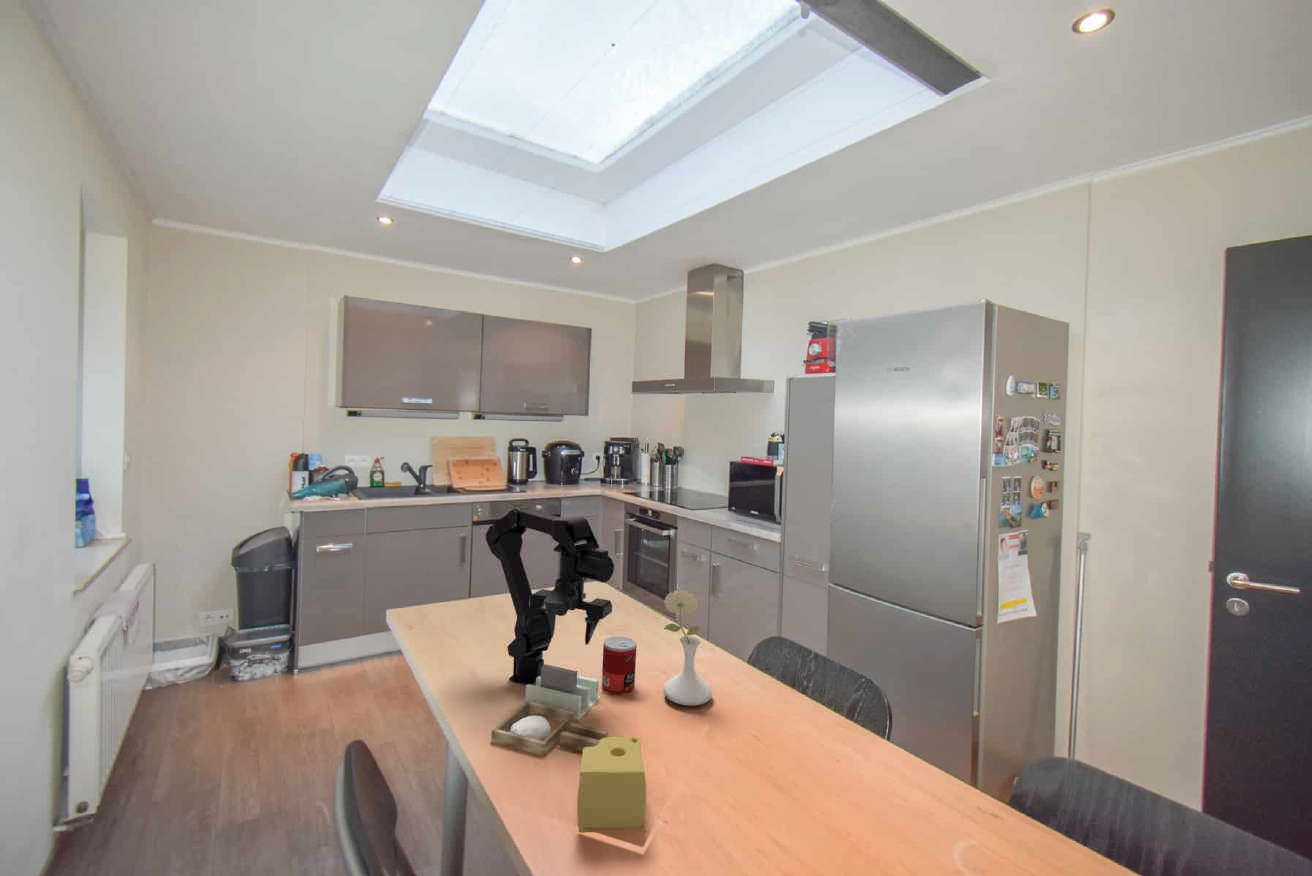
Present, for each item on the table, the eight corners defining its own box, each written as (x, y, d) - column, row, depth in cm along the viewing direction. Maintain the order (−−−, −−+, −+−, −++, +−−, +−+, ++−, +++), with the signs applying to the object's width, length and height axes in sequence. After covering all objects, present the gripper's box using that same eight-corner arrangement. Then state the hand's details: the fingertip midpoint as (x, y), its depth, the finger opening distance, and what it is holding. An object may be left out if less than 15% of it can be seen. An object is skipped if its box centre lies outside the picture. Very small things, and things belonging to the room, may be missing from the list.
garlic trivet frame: (491, 745, 110) (491, 730, 110) (526, 714, 122) (527, 700, 122) (543, 760, 107) (544, 744, 106) (575, 726, 118) (575, 712, 118)
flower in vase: (718, 694, 136) (724, 590, 135) (701, 715, 125) (707, 603, 124) (668, 681, 141) (673, 581, 140) (648, 701, 131) (653, 593, 130)
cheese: (578, 791, 98) (581, 734, 98) (641, 791, 99) (643, 734, 99) (575, 835, 88) (578, 772, 88) (645, 834, 89) (648, 772, 89)
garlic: (514, 752, 109) (515, 733, 109) (504, 735, 115) (505, 716, 115) (554, 742, 113) (555, 723, 113) (543, 725, 119) (543, 708, 119)
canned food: (630, 697, 132) (632, 650, 132) (597, 692, 134) (599, 646, 133) (637, 682, 140) (640, 638, 139) (606, 678, 141) (608, 634, 141)
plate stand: (557, 752, 109) (558, 735, 109) (572, 736, 115) (573, 720, 115) (595, 762, 107) (596, 745, 107) (608, 745, 112) (609, 729, 112)
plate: (539, 702, 126) (541, 667, 125) (543, 699, 127) (545, 664, 127) (572, 710, 123) (573, 674, 123) (575, 707, 124) (577, 671, 124)
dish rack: (521, 709, 124) (522, 687, 124) (547, 687, 135) (548, 667, 134) (578, 724, 120) (579, 700, 119) (600, 700, 130) (601, 678, 130)
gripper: (516, 576, 126) (514, 646, 126) (593, 588, 119) (590, 661, 120) (543, 564, 136) (540, 629, 137) (614, 575, 130) (611, 642, 130)
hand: (569, 640), depth 131 cm, fingers open, 9 cm apart
